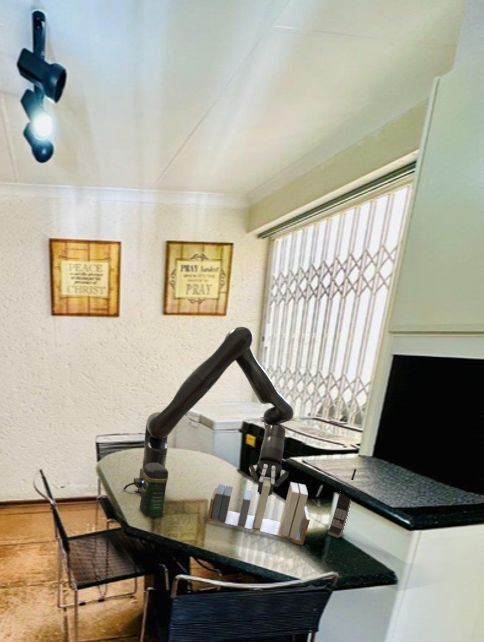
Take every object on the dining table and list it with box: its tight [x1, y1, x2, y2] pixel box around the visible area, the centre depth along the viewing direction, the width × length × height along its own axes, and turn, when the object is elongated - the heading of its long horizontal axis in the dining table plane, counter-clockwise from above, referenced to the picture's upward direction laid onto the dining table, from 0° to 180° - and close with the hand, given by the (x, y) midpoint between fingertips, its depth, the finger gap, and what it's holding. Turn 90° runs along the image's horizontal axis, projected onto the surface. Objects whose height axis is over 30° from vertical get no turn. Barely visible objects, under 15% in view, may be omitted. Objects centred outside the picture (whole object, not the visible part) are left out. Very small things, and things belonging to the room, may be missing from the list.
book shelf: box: [206, 487, 311, 546], centre depth 139 cm, size 32×12×10 cm, turn 69°
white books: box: [279, 481, 309, 538], centre depth 134 cm, size 5×10×16 cm, turn 159°
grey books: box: [211, 483, 253, 526], centre depth 141 cm, size 12×10×10 cm
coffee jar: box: [139, 463, 169, 518], centre depth 141 cm, size 10×8×19 cm
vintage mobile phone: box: [327, 468, 357, 539], centre depth 135 cm, size 4×5×25 cm
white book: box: [254, 477, 270, 529], centre depth 137 cm, size 2×10×16 cm, turn 159°
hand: (264, 494), depth 134 cm, fingers closed on white book, 2 cm apart
